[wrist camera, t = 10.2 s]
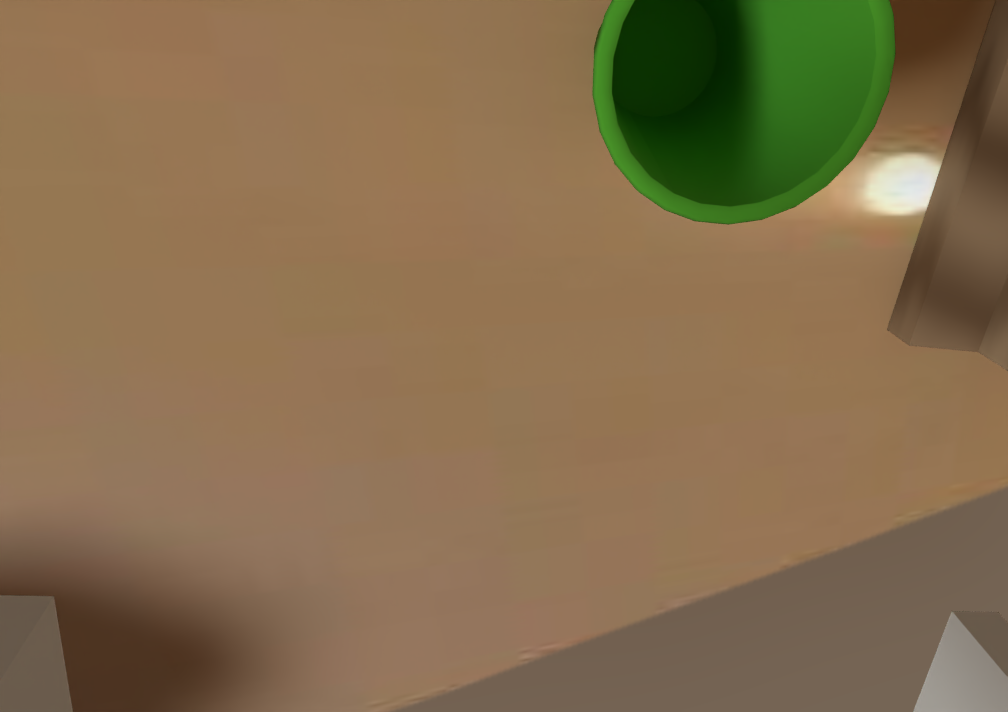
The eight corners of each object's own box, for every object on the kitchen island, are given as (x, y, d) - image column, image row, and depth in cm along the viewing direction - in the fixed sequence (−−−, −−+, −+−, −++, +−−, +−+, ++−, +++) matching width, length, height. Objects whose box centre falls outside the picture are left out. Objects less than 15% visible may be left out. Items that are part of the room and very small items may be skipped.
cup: (803, 2, 34) (961, 0, 23) (686, 198, 36) (782, 273, 26) (616, -116, 31) (703, -173, 21) (508, 103, 34) (538, 144, 24)
